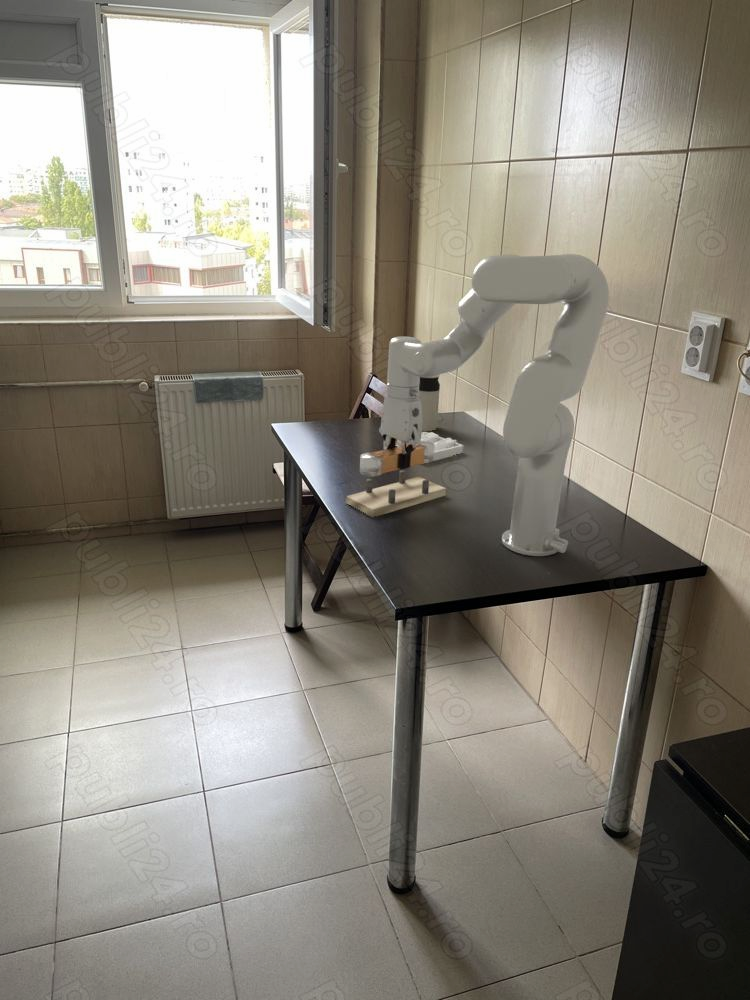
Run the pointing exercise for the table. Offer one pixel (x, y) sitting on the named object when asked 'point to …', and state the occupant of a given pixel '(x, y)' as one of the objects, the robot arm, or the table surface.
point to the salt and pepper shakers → (440, 444)
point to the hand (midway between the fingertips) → (397, 464)
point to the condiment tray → (441, 453)
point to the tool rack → (394, 495)
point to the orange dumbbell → (394, 459)
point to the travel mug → (429, 401)
